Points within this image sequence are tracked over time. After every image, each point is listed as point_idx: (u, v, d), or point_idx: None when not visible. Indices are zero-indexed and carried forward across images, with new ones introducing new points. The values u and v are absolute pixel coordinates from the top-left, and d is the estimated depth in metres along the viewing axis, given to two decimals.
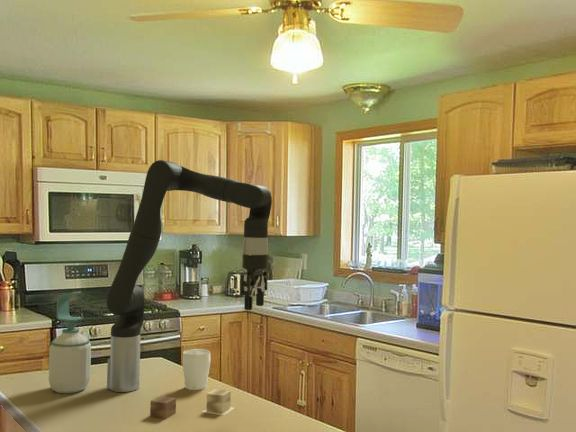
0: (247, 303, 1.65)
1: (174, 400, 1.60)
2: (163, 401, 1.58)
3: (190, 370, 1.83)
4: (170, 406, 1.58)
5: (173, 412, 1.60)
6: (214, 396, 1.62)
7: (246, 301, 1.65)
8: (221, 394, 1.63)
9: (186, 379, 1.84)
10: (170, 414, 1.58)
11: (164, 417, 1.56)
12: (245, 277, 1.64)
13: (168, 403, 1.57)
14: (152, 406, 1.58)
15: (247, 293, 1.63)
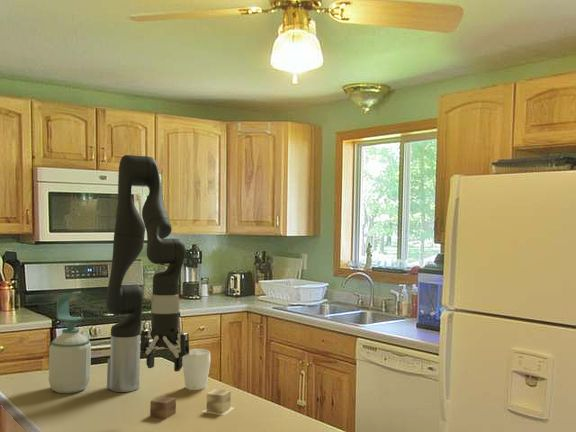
0: (180, 363, 1.58)
1: (174, 400, 1.60)
2: (163, 401, 1.58)
3: (190, 370, 1.83)
4: (169, 406, 1.58)
5: (173, 412, 1.60)
6: (214, 396, 1.62)
7: (180, 362, 1.58)
8: (221, 394, 1.63)
9: (186, 379, 1.84)
10: (170, 414, 1.58)
11: (164, 417, 1.56)
12: (186, 336, 1.57)
13: (168, 403, 1.57)
14: (152, 406, 1.58)
15: (188, 352, 1.58)
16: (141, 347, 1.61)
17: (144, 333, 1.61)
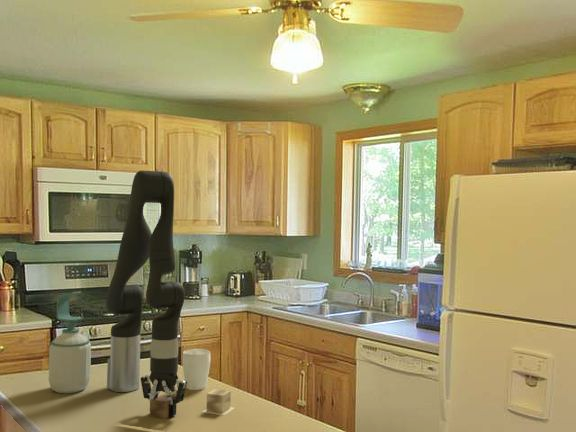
0: (175, 410, 1.58)
1: None
2: (163, 401, 1.58)
3: (190, 370, 1.83)
4: None
5: None
6: (214, 396, 1.62)
7: (174, 408, 1.58)
8: (221, 394, 1.63)
9: (186, 379, 1.84)
10: None
11: (164, 417, 1.56)
12: (184, 385, 1.57)
13: (168, 403, 1.57)
14: (152, 406, 1.58)
15: (182, 399, 1.58)
16: (144, 394, 1.60)
17: (143, 379, 1.61)
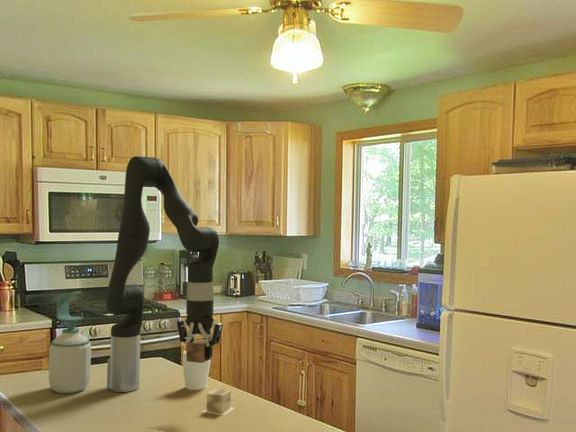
0: (211, 352, 1.61)
1: None
2: (199, 343, 1.60)
3: (190, 370, 1.83)
4: None
5: None
6: (214, 396, 1.62)
7: (210, 351, 1.60)
8: (221, 394, 1.63)
9: (186, 379, 1.84)
10: None
11: (200, 358, 1.59)
12: (220, 327, 1.60)
13: (204, 345, 1.60)
14: (188, 348, 1.60)
15: (218, 341, 1.61)
16: (181, 337, 1.63)
17: (180, 323, 1.63)
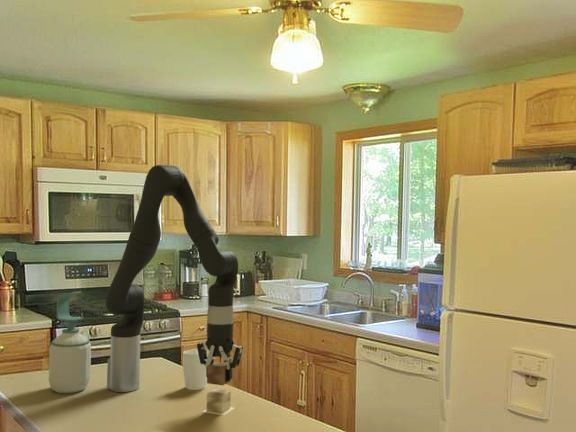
0: (231, 375, 1.64)
1: None
2: (220, 366, 1.63)
3: (190, 370, 1.83)
4: None
5: None
6: (214, 396, 1.62)
7: (230, 373, 1.63)
8: (221, 394, 1.63)
9: (186, 379, 1.84)
10: None
11: (221, 381, 1.62)
12: (240, 350, 1.62)
13: (225, 368, 1.63)
14: (209, 371, 1.63)
15: (238, 364, 1.64)
16: (201, 359, 1.65)
17: (200, 345, 1.66)
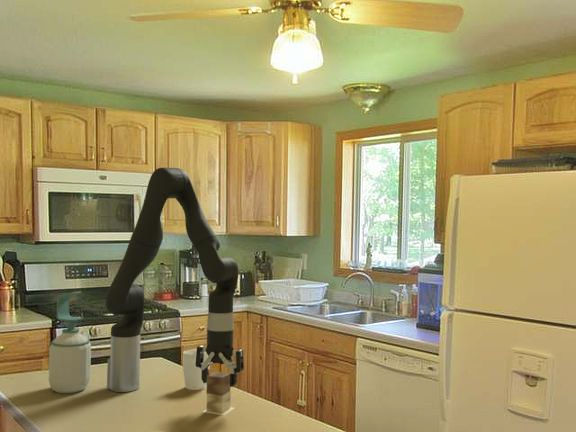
0: (235, 379, 1.63)
1: (229, 375, 1.65)
2: (219, 376, 1.63)
3: (190, 370, 1.83)
4: (225, 381, 1.63)
5: (228, 387, 1.65)
6: (214, 396, 1.62)
7: (235, 377, 1.63)
8: None
9: (186, 379, 1.84)
10: (226, 389, 1.64)
11: (220, 391, 1.62)
12: (241, 353, 1.62)
13: (224, 378, 1.63)
14: (208, 381, 1.63)
15: (243, 368, 1.63)
16: (196, 363, 1.66)
17: (199, 349, 1.66)
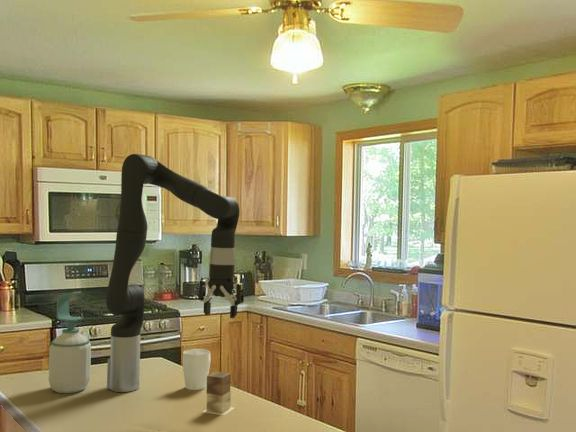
0: (236, 311, 1.71)
1: (229, 375, 1.65)
2: (219, 376, 1.63)
3: (190, 370, 1.83)
4: (225, 381, 1.63)
5: (228, 387, 1.65)
6: (214, 396, 1.62)
7: (235, 309, 1.71)
8: None
9: (186, 379, 1.84)
10: (226, 389, 1.64)
11: (220, 391, 1.62)
12: (241, 286, 1.71)
13: (224, 378, 1.63)
14: (208, 381, 1.63)
15: (243, 301, 1.71)
16: (199, 296, 1.74)
17: (202, 283, 1.74)
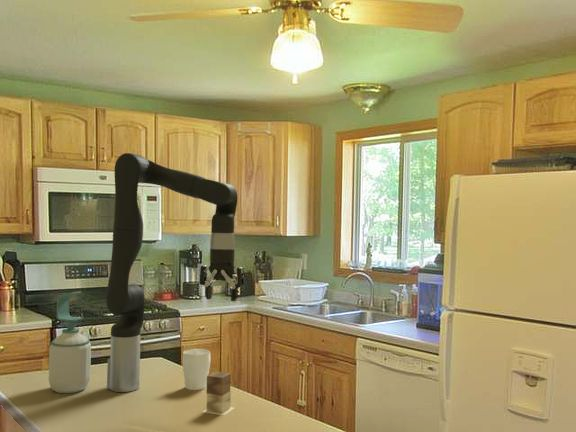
0: (236, 294, 1.77)
1: (229, 375, 1.65)
2: (219, 376, 1.63)
3: (190, 370, 1.83)
4: (225, 381, 1.63)
5: (228, 387, 1.65)
6: (214, 396, 1.62)
7: (236, 293, 1.76)
8: None
9: (186, 379, 1.84)
10: (226, 389, 1.64)
11: (220, 391, 1.62)
12: (242, 270, 1.76)
13: (224, 378, 1.63)
14: (208, 381, 1.63)
15: (243, 284, 1.77)
16: (200, 280, 1.80)
17: (203, 268, 1.79)
